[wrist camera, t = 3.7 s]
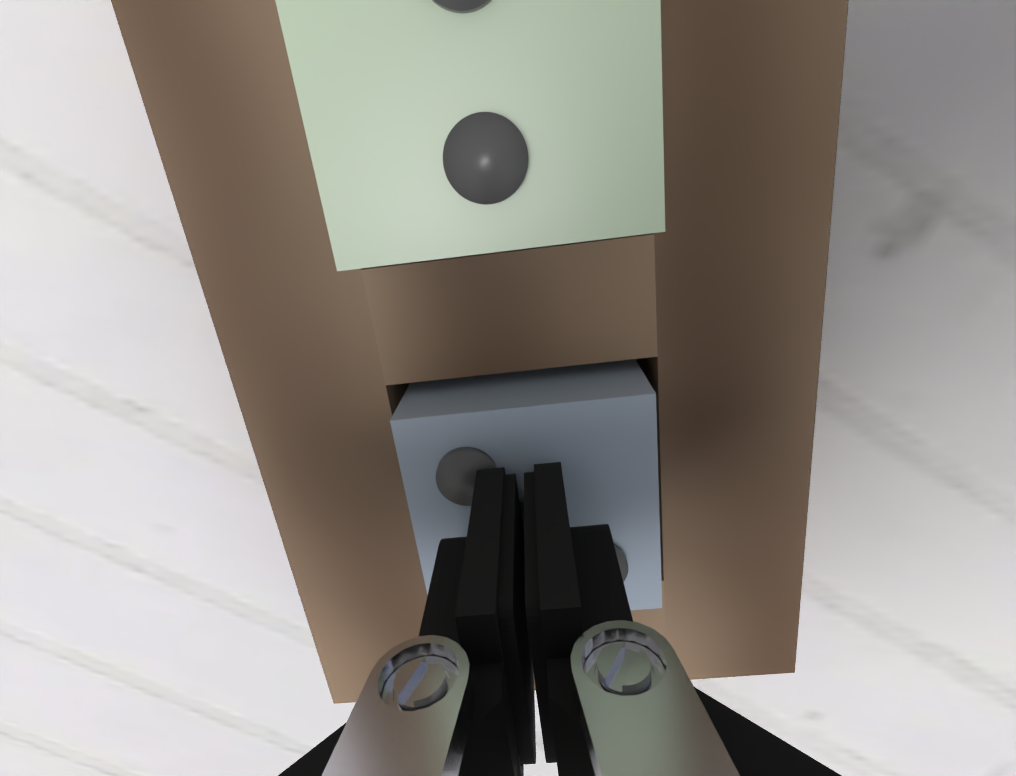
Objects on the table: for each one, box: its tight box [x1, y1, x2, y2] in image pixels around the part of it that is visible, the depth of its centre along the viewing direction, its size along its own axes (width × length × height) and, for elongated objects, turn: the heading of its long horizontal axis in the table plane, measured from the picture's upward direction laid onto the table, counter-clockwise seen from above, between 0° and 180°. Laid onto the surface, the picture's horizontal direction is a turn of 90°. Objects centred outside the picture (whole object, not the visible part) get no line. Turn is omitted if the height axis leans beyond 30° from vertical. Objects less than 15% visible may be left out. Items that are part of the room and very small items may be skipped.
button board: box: [111, 0, 849, 703], centre depth 11 cm, size 12×28×2 cm, turn 7°
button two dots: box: [275, 0, 665, 271], centre depth 9 cm, size 5×5×3 cm
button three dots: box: [390, 359, 662, 610], centre depth 13 cm, size 5×5×3 cm
